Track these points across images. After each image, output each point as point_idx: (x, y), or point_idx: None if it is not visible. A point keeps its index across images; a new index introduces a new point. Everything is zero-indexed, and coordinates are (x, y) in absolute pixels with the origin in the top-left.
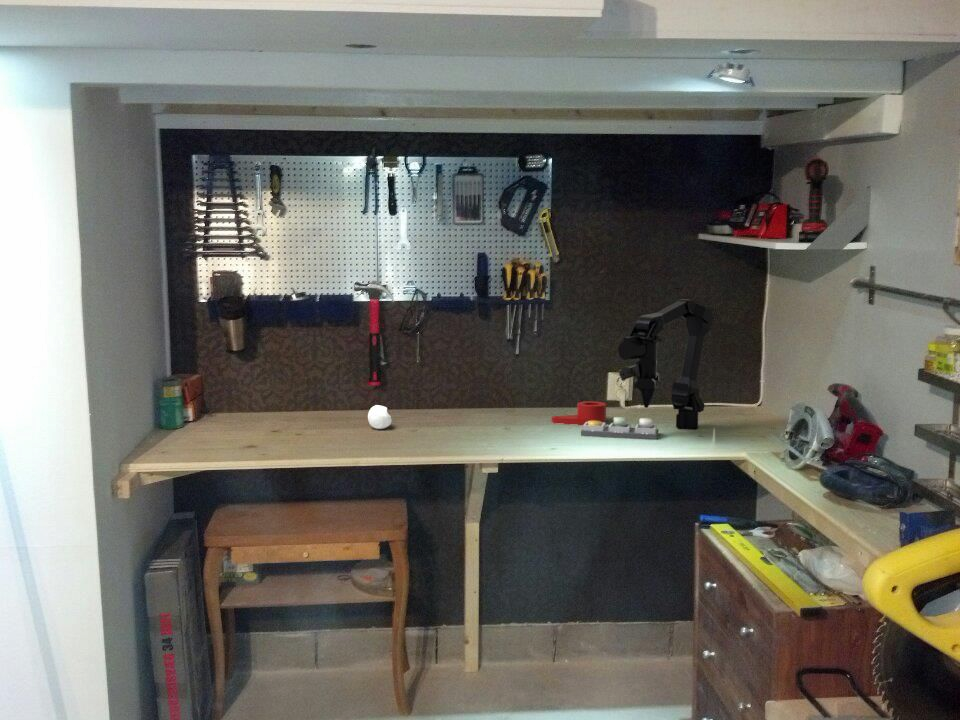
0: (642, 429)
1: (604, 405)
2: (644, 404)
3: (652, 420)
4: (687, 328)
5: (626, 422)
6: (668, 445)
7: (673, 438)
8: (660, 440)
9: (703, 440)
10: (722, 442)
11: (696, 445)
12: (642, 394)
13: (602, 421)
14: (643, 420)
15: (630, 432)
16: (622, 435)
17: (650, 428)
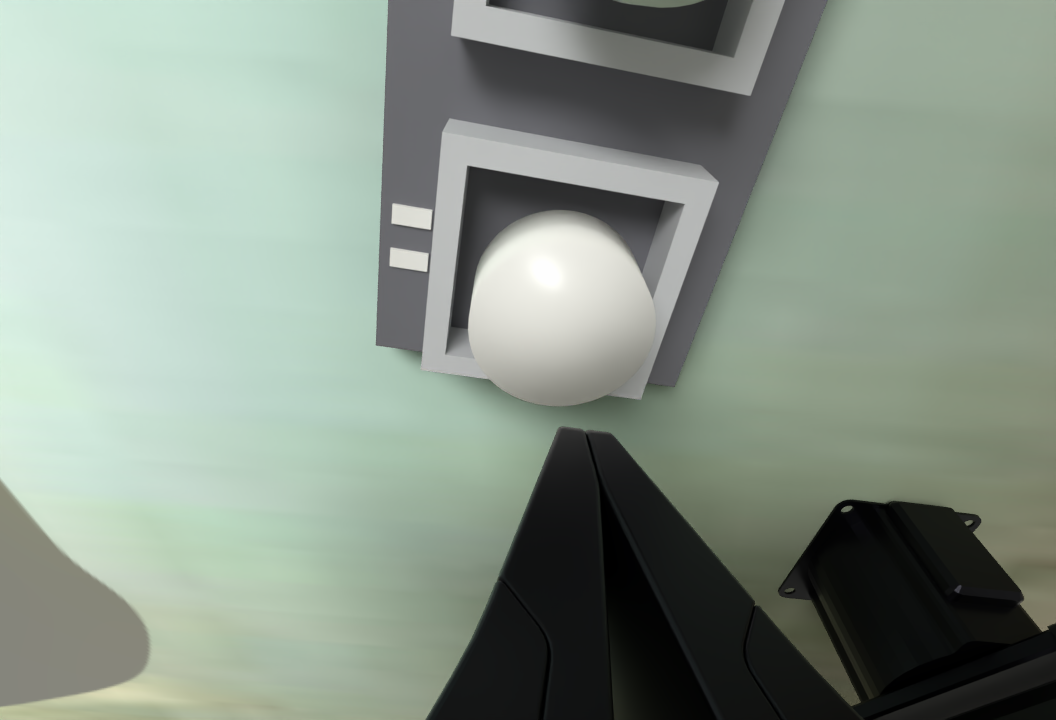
0: (433, 230)
1: None
2: (542, 467)
3: (532, 396)
4: None
5: (629, 3)
6: (178, 395)
7: (473, 449)
8: (368, 353)
9: (435, 592)
10: (397, 655)
11: (260, 550)
12: (453, 685)
13: None
14: (477, 291)
15: (459, 57)
16: None
17: (443, 325)
